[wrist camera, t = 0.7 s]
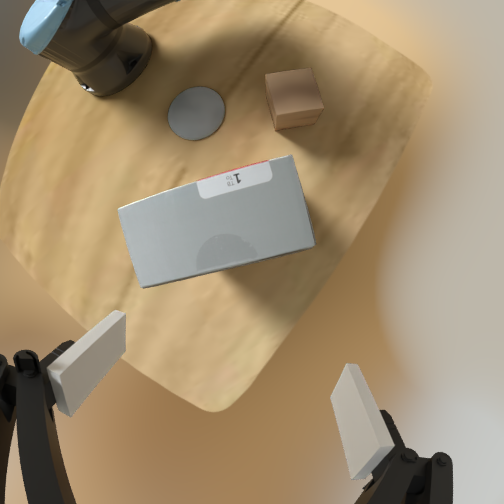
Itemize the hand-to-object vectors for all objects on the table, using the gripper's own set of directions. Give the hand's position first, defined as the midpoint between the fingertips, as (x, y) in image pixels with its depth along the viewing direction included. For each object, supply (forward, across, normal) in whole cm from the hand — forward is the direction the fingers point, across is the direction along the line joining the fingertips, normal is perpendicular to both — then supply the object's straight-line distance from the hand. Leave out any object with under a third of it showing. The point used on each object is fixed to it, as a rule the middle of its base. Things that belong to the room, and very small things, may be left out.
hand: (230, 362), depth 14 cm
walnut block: (+28, 0, +23) cm, 36 cm away
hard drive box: (+28, -4, +6) cm, 29 cm away
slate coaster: (+28, -14, +20) cm, 37 cm away
